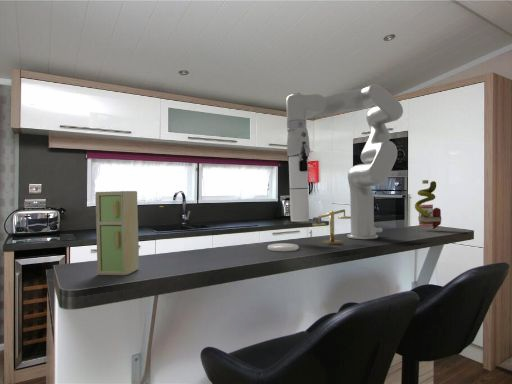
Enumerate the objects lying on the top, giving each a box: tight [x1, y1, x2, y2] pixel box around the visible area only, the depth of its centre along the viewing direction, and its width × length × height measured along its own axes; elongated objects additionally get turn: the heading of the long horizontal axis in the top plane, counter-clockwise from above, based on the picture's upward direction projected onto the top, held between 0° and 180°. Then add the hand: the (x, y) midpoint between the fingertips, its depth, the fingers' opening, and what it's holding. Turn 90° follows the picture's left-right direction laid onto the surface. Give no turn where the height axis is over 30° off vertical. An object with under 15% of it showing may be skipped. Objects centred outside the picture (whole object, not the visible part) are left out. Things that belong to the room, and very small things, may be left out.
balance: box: [311, 209, 351, 246], centre depth 123 cm, size 17×5×13 cm, turn 113°
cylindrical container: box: [288, 156, 310, 223], centre depth 126 cm, size 7×7×25 cm
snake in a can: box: [414, 179, 442, 230], centre depth 158 cm, size 12×10×25 cm
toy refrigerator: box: [94, 190, 140, 276], centre depth 82 cm, size 8×7×21 cm
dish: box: [267, 243, 300, 253], centre depth 114 cm, size 11×11×1 cm
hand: (298, 171), depth 126 cm, fingers closed on cylindrical container, 7 cm apart
